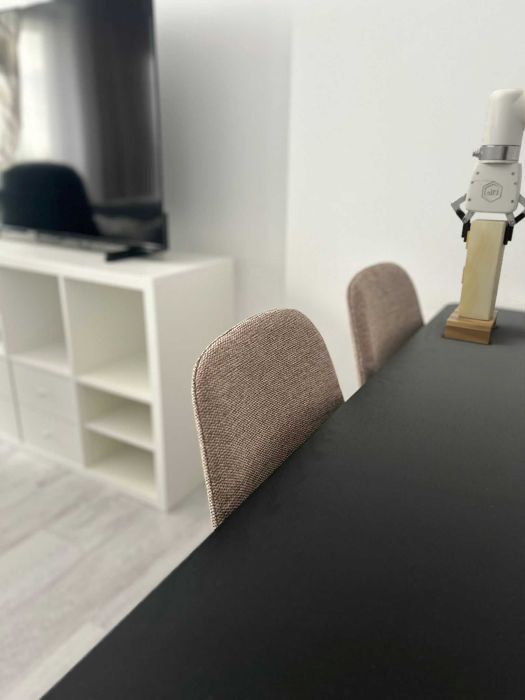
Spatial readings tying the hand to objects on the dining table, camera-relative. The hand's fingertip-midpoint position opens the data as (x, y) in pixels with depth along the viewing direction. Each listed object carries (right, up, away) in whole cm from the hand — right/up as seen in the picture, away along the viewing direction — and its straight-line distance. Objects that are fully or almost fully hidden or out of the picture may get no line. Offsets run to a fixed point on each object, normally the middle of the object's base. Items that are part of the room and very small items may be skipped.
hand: (485, 242), depth 111 cm
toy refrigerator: (0, -16, +5) cm, 16 cm away
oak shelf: (0, -19, +7) cm, 20 cm away
